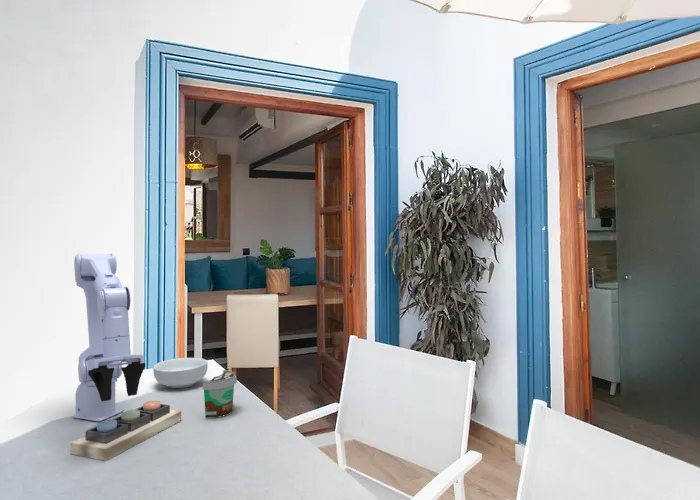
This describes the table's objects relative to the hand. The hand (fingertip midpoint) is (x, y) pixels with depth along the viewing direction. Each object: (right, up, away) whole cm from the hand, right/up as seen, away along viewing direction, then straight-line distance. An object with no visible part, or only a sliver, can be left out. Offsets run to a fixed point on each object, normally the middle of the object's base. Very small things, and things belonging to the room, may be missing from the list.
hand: (119, 398), depth 107 cm
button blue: (-2, -7, -1) cm, 8 cm away
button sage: (0, -7, +5) cm, 9 cm away
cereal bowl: (-3, -11, +46) cm, 48 cm away
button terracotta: (+2, -7, +12) cm, 14 cm away
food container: (+18, -11, +21) cm, 30 cm away
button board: (0, -11, +5) cm, 12 cm away
